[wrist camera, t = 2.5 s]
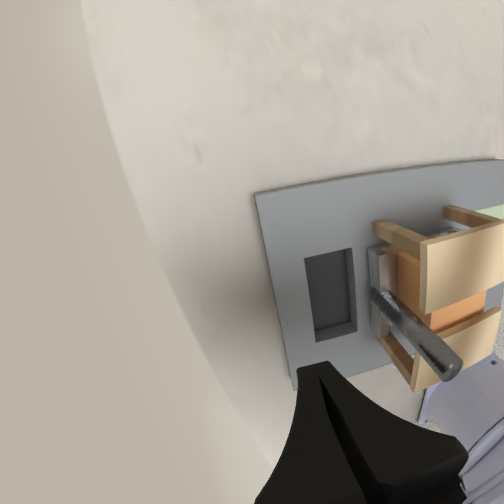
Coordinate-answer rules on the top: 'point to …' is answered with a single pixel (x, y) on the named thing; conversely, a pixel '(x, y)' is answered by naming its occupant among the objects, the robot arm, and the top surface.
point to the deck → (357, 251)
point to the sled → (406, 311)
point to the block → (439, 318)
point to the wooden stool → (450, 286)
